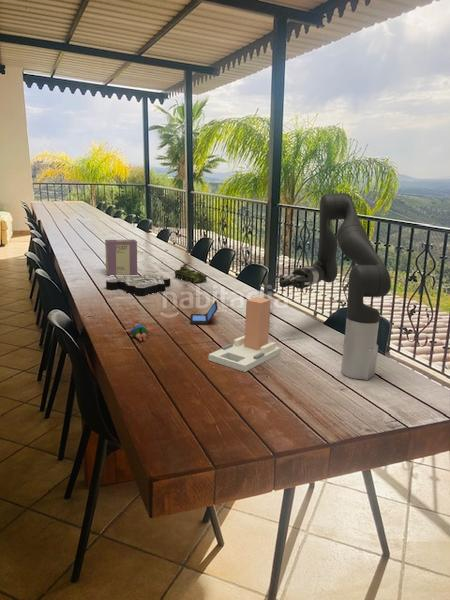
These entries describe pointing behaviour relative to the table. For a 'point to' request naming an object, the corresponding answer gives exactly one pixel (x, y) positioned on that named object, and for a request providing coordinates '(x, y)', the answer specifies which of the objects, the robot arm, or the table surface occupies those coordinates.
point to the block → (257, 322)
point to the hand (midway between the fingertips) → (281, 284)
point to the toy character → (139, 331)
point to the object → (203, 316)
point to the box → (121, 257)
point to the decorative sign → (139, 284)
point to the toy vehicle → (189, 275)
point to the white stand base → (244, 355)
